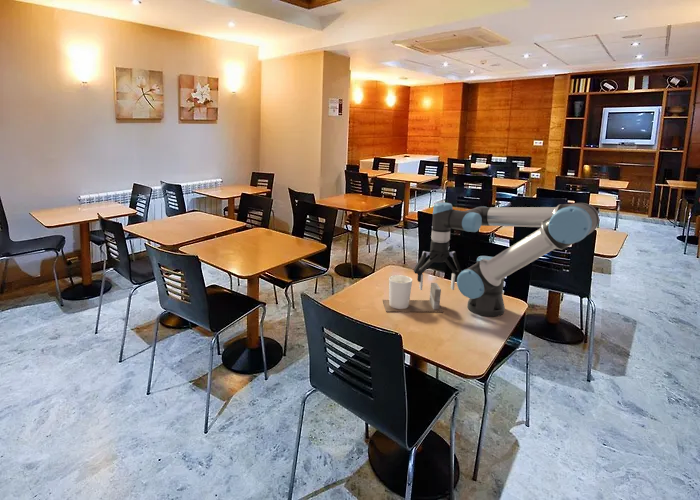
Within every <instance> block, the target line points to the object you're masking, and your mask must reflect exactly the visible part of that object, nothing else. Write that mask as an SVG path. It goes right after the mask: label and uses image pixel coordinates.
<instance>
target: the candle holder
mask: <svg viewBox="0 0 700 500" xmlns="http://www.w3.org/2000/svg"><path fill="white" fill-rule="evenodd" d="M412 284H413V278H412V277H410V276H407V275H403V274H402V275H400V274H395V275H391V276H389V278H388V294H389V295H388V300H389V305H390V306H391V307H392V308H395V309H405V308H408V306H409V301H410V300H411V291H412Z"/></svg>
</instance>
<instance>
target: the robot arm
mask: <svg viewBox="0 0 700 500" xmlns="http://www.w3.org/2000/svg"><path fill="white" fill-rule="evenodd" d="M432 208H433V209H432V210H433V211H432V222H431V224H432V225H431V235H430V237H431V238H430V239H431V241H430V248H429V249H430V250H429V251H425V250H423V251H422V253H421V257H420V258H419V260H418V261H417V264H416V265H415V266H414V268H413V273H414V274H416V275H417V277H416V279H417V282H418V283H419V287H418V288H419V290H420V291H423V286H424V285H423V282H424V275H423V273H424V272H425V271H427V269H428V268H429V267H430V266H431V265H432V264H434V263H436V264H437V263H438V264H439V263H441V264H442V263H444V262H445V263H446V265H447V266H448V268H449V269H450V270H451V271H452V273H451V278H450V281H451V282H450V289H451V290H452V291H454V290H455V285H456V286H457V289H458V291H459V292H460V293H461V294H462V296H464V297H465V298H468V301H467V309H468V311H470V312H471V313H473V314H475V315H480V316H483V317H498V316H502V315H503V314H504V313H505V307H506V306H505V303H504V302H505V301H504V298H503V297H504V296H503V292H504V291H503V289H504V282H505V278H506V277H508V276H510V275H512V274H513V273H515V272H517V271H518V270H520V269H522V268H524V267H526V266H528V265H529V264H530V263H533V262H535V261H536V260H538V259H539V258H541V257H542V256H545V255H547V254H549V253H550V252H552V251H554V250H561V251H562V250H565V249H566V248H568V247H570V246H572V245H574V244H575V243H579V242H581V241H582V240H584V239H585V238H586V237H587V236H589V235H590V234H592V233H593V232H594V231H596V229H597V227H598V226H599V222H600V217H599V216H600V215H599V213H598V211H597V209H596V208H595V207H594V206H592V205H591V204H588V203H585V202H576V203H575V202H574V203H565V204H558V205H557V206H553V207H551V206H540V207H539V206H537V207H536V206H535V207H534V206H530V207H527V206H524V207H523V206H521V207H520V206H517V207H516V206H515V207H514V206H512V207H511V206H499V207H498V206H496V207H487V206H484V205H483V206H482V205H481V206H476V207H474V208H470V209H468V210H458V209H453V208H454V207H453V204H452V203H450V202H441V201H440V202H435V203H434V205H433V207H432ZM482 226H483V227H484V226H485V227H492V226H493V227H521V228H522V227H524V228H525V227H526V228H537V230H535V231H533V232H532V233H530V234H528V235H527V236H525V237H524V238H522V239H521V240H519V241H517V242H516V243H513V245H511V246H509V247H508V248H506V249H504V250H502V251H501V252H499V253H498V254H496V255H495V256H488V255H480V256H478V257H477V258H476V263H475V264H472V265H471V266H470V267H468V268H465V269H463V270H462V267H461V265H460V263H459V261H458V258H457V253H456V251H455V250H452V251H450V240H451V229H453V230H460V231H465V232H468V233H469V232H471V233H476V232H478V231H479V230H480V229H481V227H482ZM428 256H429V258H428ZM449 256H450V257H451V258H452V261H453V262H454V265H455V267H456V269H457V270H456V269H455V267H454V266H453V264H451V262H450V261H449V259H448V258H449ZM426 258H428V259H427V261H426V262H425V260H426ZM455 283H456V284H455Z"/></svg>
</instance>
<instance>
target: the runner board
mask: <svg viewBox="0 0 700 500" xmlns="http://www.w3.org/2000/svg"><path fill="white" fill-rule="evenodd" d="M429 289H430V290H429V299H423V300H422V299H418V300H417V299H410V301H409V306H408V308H405V309H395V308H392V307H391V306H390V305H389V299H382V303H383V306H384V309H385V313H444V310H443V308H442V307H441V303H440V302H441V293H442V288H440V286H439V285H438V283H437V282H431V283H430V288H429Z"/></svg>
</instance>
